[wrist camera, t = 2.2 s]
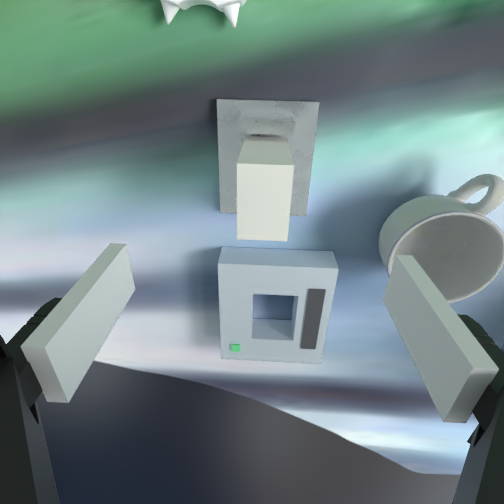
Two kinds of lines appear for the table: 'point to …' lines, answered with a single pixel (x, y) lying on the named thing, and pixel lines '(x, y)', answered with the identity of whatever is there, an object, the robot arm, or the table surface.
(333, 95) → the table surface
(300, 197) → the holster
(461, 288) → the teacup
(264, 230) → the plug
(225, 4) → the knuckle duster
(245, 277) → the switch box
